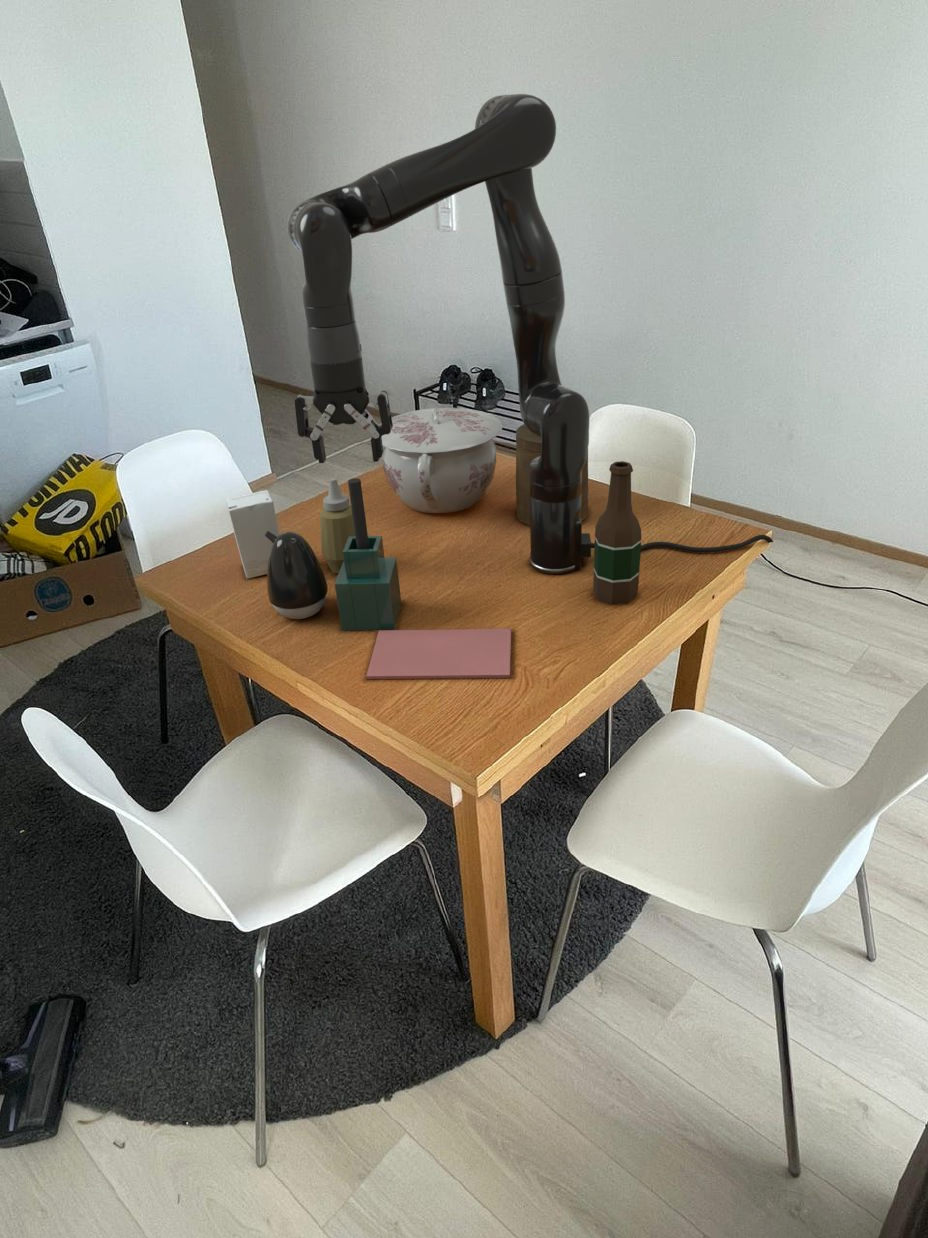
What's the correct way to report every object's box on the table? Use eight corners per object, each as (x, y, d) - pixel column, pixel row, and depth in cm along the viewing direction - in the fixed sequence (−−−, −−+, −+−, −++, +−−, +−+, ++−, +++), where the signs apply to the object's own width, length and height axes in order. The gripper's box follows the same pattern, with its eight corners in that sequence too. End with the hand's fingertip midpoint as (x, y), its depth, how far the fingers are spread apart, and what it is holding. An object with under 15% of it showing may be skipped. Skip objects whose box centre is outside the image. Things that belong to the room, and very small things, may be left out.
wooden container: (577, 496, 180) (579, 396, 169) (595, 524, 168) (599, 419, 156) (510, 503, 179) (507, 403, 168) (524, 532, 167) (522, 427, 155)
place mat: (511, 631, 136) (511, 628, 135) (510, 678, 125) (509, 674, 124) (379, 633, 137) (378, 630, 137) (366, 679, 126) (366, 676, 126)
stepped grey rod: (379, 612, 143) (361, 477, 130) (377, 620, 141) (359, 483, 128) (367, 612, 143) (349, 477, 130) (365, 620, 141) (346, 483, 128)
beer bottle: (610, 610, 139) (616, 477, 127) (583, 591, 145) (587, 461, 133) (647, 597, 142) (656, 466, 130) (619, 579, 148) (626, 451, 136)
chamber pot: (447, 468, 199) (441, 382, 188) (530, 497, 181) (529, 405, 170) (354, 504, 183) (341, 413, 172) (434, 541, 166) (426, 442, 155)
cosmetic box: (283, 558, 163) (269, 488, 155) (288, 571, 158) (274, 499, 150) (240, 567, 161) (224, 496, 153) (244, 580, 156) (228, 508, 148)
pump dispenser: (300, 591, 151) (286, 515, 143) (342, 605, 146) (330, 527, 138) (259, 616, 144) (242, 538, 136) (301, 632, 139) (286, 552, 131)
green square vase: (401, 602, 146) (393, 530, 138) (394, 629, 138) (385, 555, 131) (351, 603, 146) (340, 532, 139) (341, 630, 139) (330, 556, 131)
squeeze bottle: (359, 578, 154) (346, 488, 145) (318, 576, 156) (303, 487, 146) (372, 558, 161) (360, 471, 151) (332, 556, 162) (319, 470, 153)
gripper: (280, 363, 117) (299, 471, 126) (379, 359, 116) (391, 468, 124) (293, 350, 123) (310, 453, 132) (387, 346, 122) (398, 450, 131)
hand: (349, 460), depth 128 cm, fingers open, 8 cm apart
